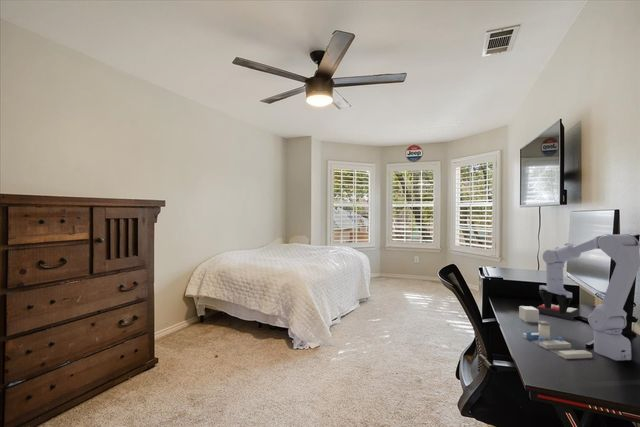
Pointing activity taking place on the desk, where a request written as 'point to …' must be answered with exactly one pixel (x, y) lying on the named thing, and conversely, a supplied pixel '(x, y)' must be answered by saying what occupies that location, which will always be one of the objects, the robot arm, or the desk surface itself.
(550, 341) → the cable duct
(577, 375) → the desk surface
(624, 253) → the robot arm
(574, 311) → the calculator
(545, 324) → the cream round-ended cylinder
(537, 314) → the cream white cube
